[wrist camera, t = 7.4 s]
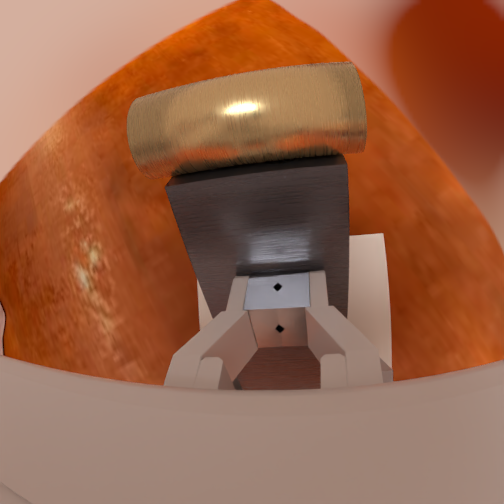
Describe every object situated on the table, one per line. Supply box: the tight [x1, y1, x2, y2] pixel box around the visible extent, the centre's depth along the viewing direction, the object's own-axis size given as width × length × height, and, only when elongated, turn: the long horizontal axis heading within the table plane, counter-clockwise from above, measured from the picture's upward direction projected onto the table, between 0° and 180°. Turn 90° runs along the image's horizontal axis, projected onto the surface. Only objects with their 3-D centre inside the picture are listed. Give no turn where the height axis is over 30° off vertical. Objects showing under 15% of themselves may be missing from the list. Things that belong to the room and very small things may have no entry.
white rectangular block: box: [197, 233, 393, 390], centre depth 18 cm, size 18×12×9 cm, turn 3°
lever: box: [127, 62, 367, 390], centre depth 12 cm, size 3×6×17 cm
